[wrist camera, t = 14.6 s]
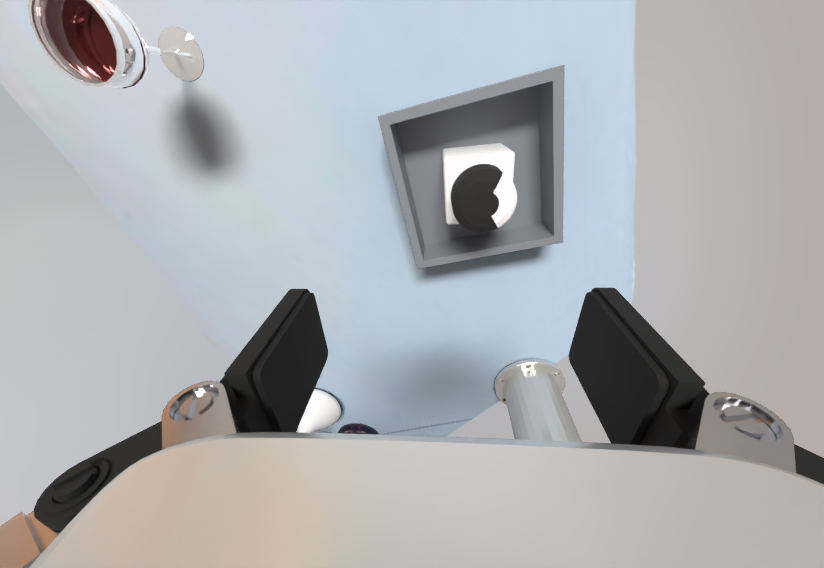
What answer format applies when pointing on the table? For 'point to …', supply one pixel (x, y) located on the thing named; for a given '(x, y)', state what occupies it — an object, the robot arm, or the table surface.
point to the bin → (478, 125)
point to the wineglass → (107, 43)
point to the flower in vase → (319, 412)
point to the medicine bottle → (479, 186)
